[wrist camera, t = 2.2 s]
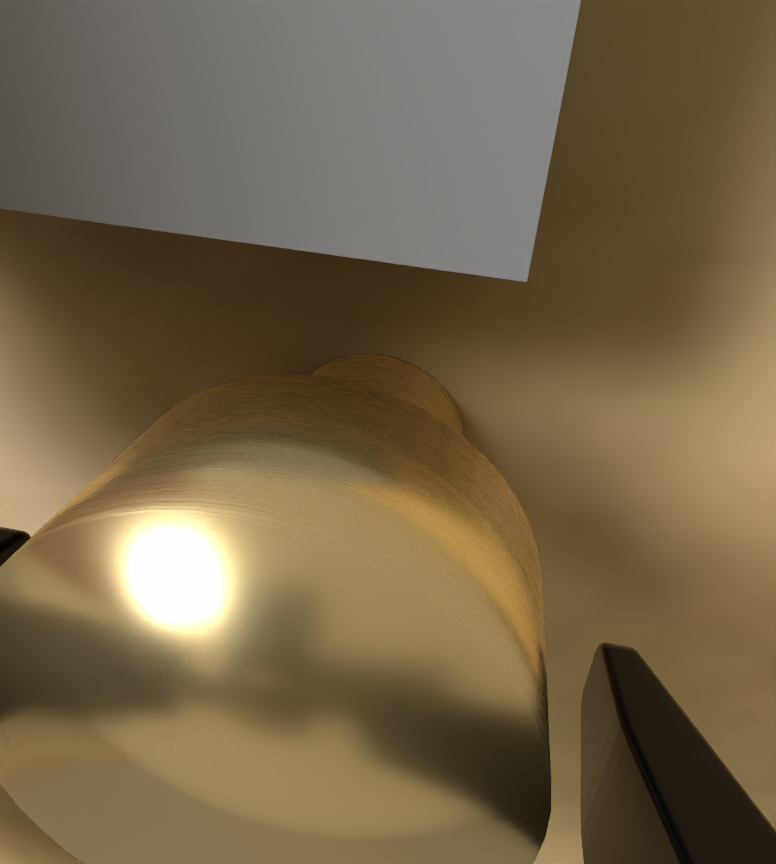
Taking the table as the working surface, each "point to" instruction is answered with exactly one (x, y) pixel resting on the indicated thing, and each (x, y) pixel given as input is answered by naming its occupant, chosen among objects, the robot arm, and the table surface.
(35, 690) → the tan shiny rounded piece
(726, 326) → the table surface
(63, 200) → the hitch block
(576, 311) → the table surface
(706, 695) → the table surface
